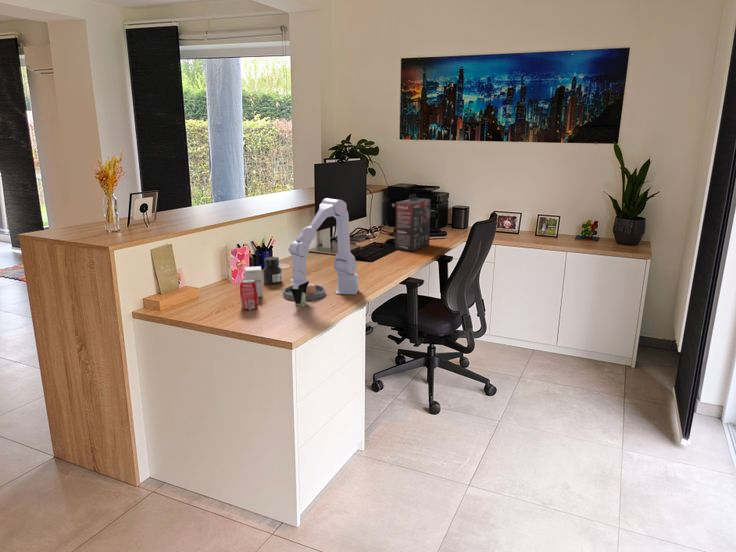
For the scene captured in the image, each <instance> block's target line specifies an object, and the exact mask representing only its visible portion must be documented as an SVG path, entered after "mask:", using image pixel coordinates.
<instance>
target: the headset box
mask: <svg viewBox="0 0 736 552" xmlns="http://www.w3.org/2000/svg"><path fill="white" fill-rule="evenodd" d="M430 229H431V199H430V198H418V197H417V194H416V193H413V194H409V197H408V199H406V200H400V201H396V202H395V240H394V241H395V245H394V247H395V248H396V249H395V248H394V249H395V250H401V251H407V252H413V251H416V250H419V249H422V248H425V247H428V246H430V233H431V232H430Z"/></svg>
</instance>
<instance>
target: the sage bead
mask: <svg viewBox="0 0 736 552" xmlns="http://www.w3.org/2000/svg"><path fill="white" fill-rule="evenodd" d="M305 304H306V300H305V293H304V292H302V297H301V303H300V304H296V303H295V302H294V305H297V306H296V307H304V306H303V305H305ZM305 306H306V305H305Z"/></svg>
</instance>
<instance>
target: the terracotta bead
mask: <svg viewBox="0 0 736 552" xmlns="http://www.w3.org/2000/svg"><path fill="white" fill-rule="evenodd" d="M315 285H316V284H315V283H309V284H308V286H307V289H306V295H312V294H315Z"/></svg>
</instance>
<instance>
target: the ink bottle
mask: <svg viewBox="0 0 736 552" xmlns="http://www.w3.org/2000/svg"><path fill="white" fill-rule="evenodd" d="M282 271H283V270H282V268H281V267H280V258H279V257H278V256H277V257H276V256H269V257H264V268H263V269H262V281H263V283H264V284H266V285H277V284H280V283H282V282H283V276H282V275H283V273H282Z"/></svg>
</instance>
